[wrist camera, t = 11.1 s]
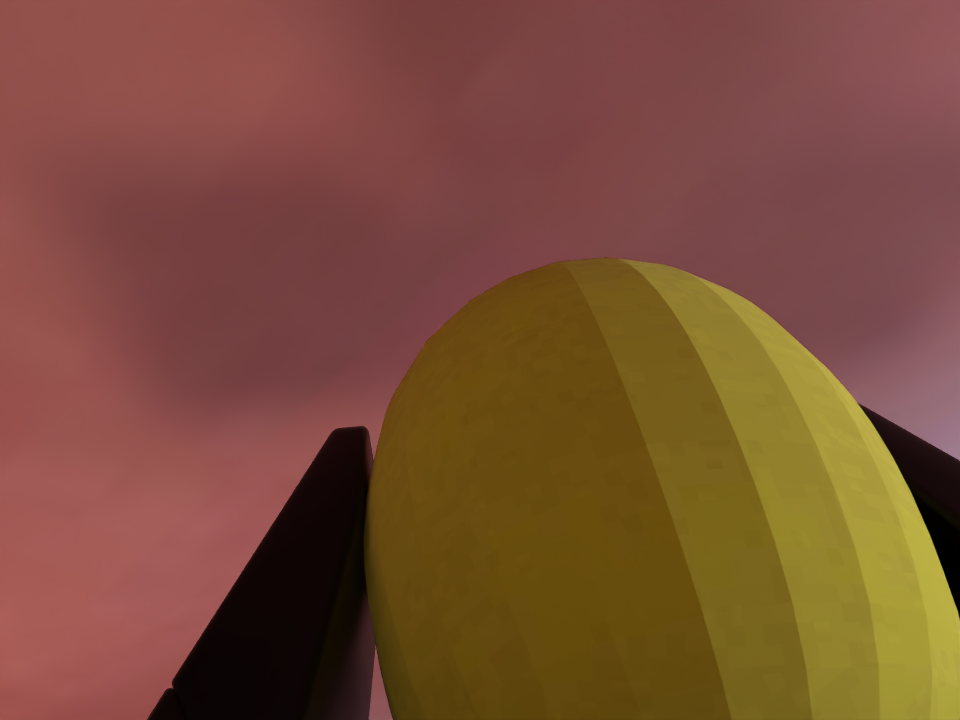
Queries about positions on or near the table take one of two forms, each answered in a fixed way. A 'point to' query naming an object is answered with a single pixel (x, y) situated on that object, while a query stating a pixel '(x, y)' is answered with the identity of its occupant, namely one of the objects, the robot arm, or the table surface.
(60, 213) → the table surface
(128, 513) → the table surface
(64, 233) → the table surface
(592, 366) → the lemon
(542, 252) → the table surface
